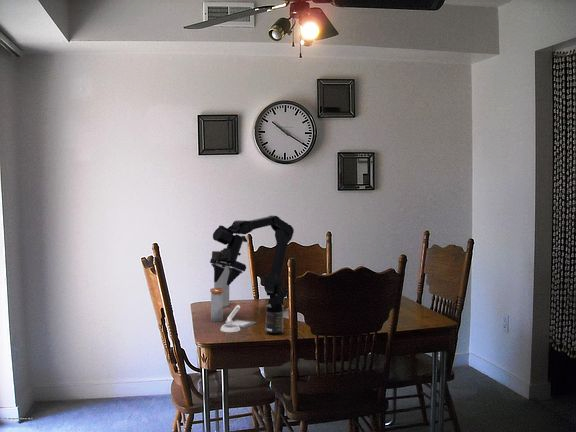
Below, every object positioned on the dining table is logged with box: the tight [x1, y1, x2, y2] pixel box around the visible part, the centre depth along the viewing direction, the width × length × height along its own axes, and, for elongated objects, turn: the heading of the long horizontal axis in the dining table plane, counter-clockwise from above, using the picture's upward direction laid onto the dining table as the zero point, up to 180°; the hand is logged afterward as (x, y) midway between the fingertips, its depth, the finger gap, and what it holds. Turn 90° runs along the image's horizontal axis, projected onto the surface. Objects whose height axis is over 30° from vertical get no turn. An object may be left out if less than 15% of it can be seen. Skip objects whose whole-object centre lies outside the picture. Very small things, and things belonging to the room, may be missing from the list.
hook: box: [220, 304, 241, 333], centre depth 205 cm, size 8×12×7 cm
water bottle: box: [213, 266, 230, 308], centre depth 250 cm, size 9×8×25 cm
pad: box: [222, 318, 258, 329], centre depth 215 cm, size 10×10×1 cm
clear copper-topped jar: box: [210, 287, 224, 322], centre depth 221 cm, size 6×6×13 cm
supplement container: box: [265, 304, 284, 336], centre depth 202 cm, size 7×7×10 cm
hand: (221, 283), depth 222 cm, fingers open, 9 cm apart
